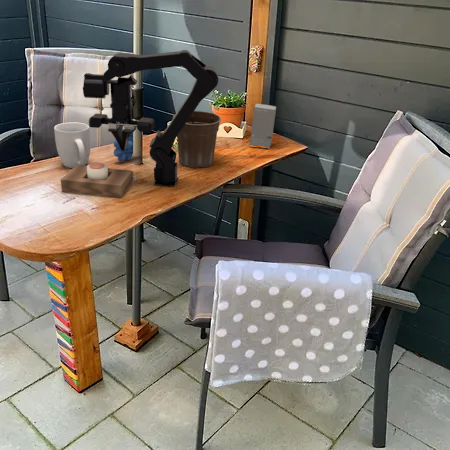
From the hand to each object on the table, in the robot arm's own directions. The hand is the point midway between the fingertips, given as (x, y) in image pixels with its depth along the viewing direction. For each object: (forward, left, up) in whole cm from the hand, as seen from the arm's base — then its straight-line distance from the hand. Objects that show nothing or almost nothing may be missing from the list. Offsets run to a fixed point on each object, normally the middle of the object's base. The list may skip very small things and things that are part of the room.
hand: (123, 150), depth 150 cm
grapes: (+5, -18, -10) cm, 21 cm away
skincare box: (-41, -47, -10) cm, 63 cm away
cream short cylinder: (+6, +7, -9) cm, 13 cm away
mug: (+19, -8, -10) cm, 23 cm away
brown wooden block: (+6, +7, -10) cm, 14 cm away
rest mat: (0, 0, -10) cm, 10 cm away
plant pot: (-19, -22, -10) cm, 31 cm away
